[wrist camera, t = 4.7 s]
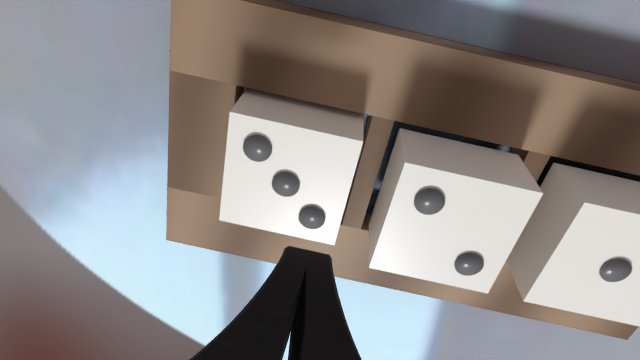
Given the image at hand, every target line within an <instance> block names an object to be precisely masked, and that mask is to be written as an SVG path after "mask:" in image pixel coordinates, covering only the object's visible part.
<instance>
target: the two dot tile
mask: <svg viewBox="0 0 640 360" xmlns="http://www.w3.org/2000/svg"><path fill="white" fill-rule="evenodd" d="M542 195H543V192H542V190H541V189H540V187H539V186H538V184H537V183H536V181H535V180H534V178H533V177H532V175H531V173H530V172H529V170H528V169H527V167H526V166H525V164H524V163H523V161H522V160H521V158H520V157H519V155H518V154H513V153H509V152H504V151H500V150H495V149H491V148H486V147H482V146H477V145H473V144H468V143H464V142H460V141H455V140H451V139H446V138H442V137H437V136H433V135H428V134H424V133H419V132H415V131H410V130H406V129H402V128H399V131H398V134H397V138H396V141H395V144H394V147H393V150H392V153H391V156H390V159H389V163H388V166H387V169H386V172H385V175H384V178H383V181H382V184H381V187H380V191H379V194H378V197H377V200H376V203H375V206H374V209H373V212H372V215H371V219H370V222H369V268H372V269H377V270H381V271H386V272H391V273H395V274H400V275H404V276H409V277H414V278H418V279H423V280H427V281H432V282H437V283H441V284H446V285H450V286H455V287H460V288H464V289H469V290H473V291H478V292H483V293H487V294H488V292H489V290H490V289H491V287H492V285H493V283H494V281H495V280H496V278H497V276H498V274H499V272H500V271H501V269H502V267H503V265H504V263H505V262H506V260H507V258H508V256H509V254H510V253H511V251H512V249H513V247H514V245H515V244H516V242H517V240H518V238H519V236H520V235H521V233H522V231H523V229H524V227H525V226H526V224H527V222H528V220H529V218H530V217H531V215H532V213H533V211H534V209H535V208H536V206H537V204H538V202H539V200H540V199H541V197H542Z"/></svg>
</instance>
